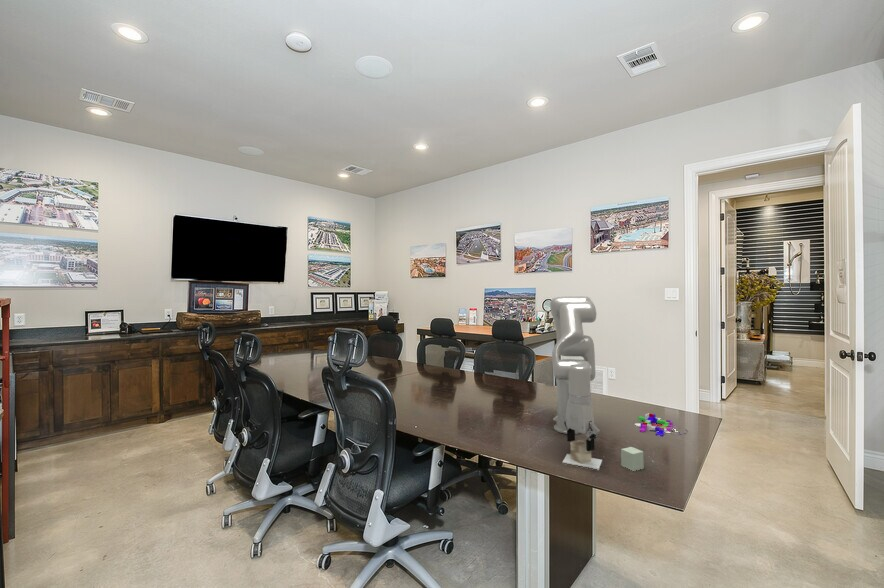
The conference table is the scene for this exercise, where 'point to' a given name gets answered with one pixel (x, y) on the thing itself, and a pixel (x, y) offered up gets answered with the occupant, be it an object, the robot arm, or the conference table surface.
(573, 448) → the birch block
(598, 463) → the external hard drive
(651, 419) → the building block set
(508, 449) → the conference table surface
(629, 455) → the sage block
